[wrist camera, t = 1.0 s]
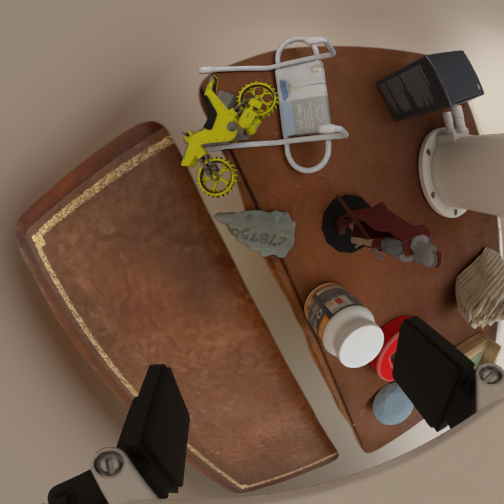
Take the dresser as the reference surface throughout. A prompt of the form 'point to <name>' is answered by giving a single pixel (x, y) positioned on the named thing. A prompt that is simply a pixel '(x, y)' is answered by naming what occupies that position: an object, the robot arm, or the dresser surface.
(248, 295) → the dresser surface
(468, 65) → the box
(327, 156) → the wall mount rack
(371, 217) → the figurine
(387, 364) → the decorative ornament
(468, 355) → the shelf
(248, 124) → the toy motorcycle
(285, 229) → the stone tool
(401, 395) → the gemstone
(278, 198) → the dresser surface
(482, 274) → the fossil tooth
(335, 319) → the pill bottle
